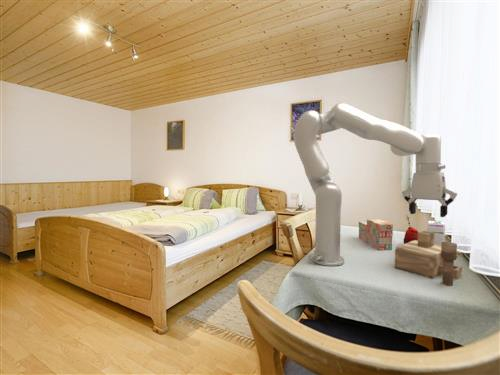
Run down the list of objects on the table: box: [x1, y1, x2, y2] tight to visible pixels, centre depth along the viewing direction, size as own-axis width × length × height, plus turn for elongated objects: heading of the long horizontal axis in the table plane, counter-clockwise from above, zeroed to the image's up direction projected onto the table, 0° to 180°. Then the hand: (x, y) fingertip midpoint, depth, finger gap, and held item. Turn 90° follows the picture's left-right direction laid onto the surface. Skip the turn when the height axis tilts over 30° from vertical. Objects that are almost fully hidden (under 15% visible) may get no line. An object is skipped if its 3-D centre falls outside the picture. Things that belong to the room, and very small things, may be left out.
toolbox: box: [394, 248, 463, 280], centre depth 93 cm, size 16×17×7 cm
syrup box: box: [427, 220, 446, 245], centre depth 107 cm, size 6×6×14 cm
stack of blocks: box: [358, 218, 394, 251], centre depth 127 cm, size 21×6×12 cm, turn 1°
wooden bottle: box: [441, 241, 458, 287], centre depth 81 cm, size 4×4×13 cm
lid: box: [395, 230, 463, 259], centre depth 92 cm, size 16×17×7 cm
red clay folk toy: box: [403, 214, 419, 244], centre depth 122 cm, size 8×7×15 cm
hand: (427, 215), depth 95 cm, fingers open, 9 cm apart
